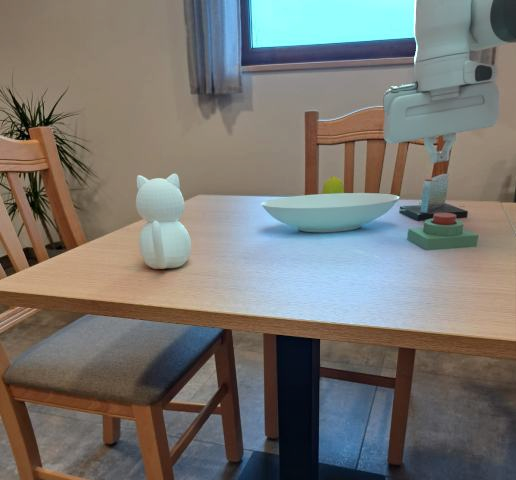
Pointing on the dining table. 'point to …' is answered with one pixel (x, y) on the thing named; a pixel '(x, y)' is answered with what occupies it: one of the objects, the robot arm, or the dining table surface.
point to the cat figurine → (162, 223)
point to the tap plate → (416, 215)
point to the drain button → (444, 218)
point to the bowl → (330, 210)
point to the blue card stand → (434, 193)
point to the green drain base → (442, 236)
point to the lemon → (333, 186)
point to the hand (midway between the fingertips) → (439, 162)
